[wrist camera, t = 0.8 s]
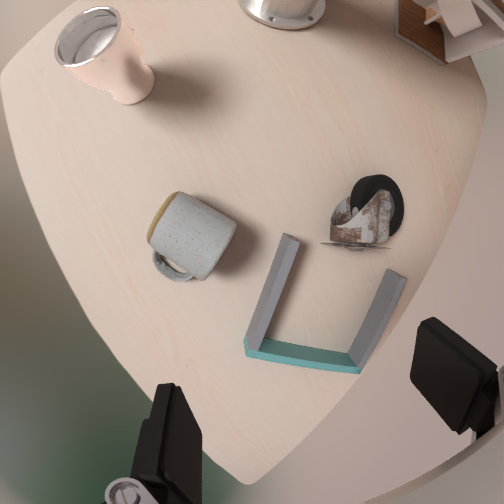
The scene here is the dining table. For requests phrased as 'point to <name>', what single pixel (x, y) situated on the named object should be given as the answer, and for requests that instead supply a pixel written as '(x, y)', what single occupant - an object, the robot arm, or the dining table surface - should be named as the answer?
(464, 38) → the white shelf stand
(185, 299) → the dining table surface
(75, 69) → the beer glass
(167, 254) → the ceramic mug
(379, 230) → the caster wheel
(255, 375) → the dining table surface
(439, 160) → the dining table surface
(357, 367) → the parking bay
